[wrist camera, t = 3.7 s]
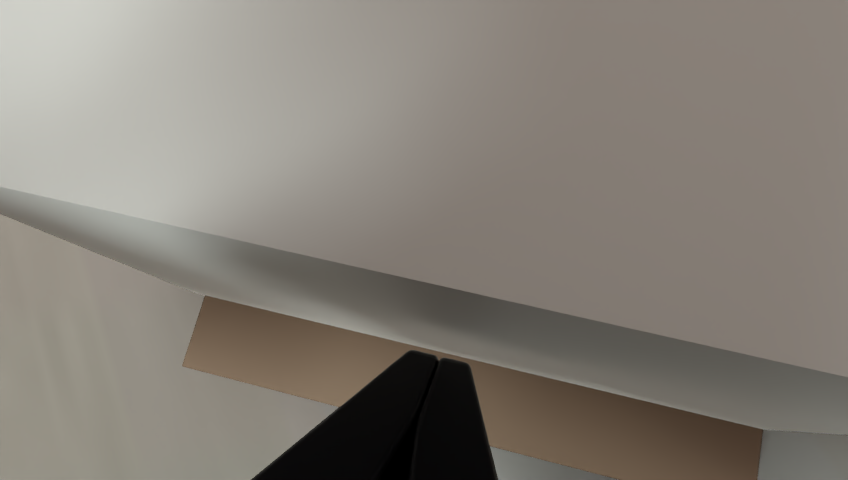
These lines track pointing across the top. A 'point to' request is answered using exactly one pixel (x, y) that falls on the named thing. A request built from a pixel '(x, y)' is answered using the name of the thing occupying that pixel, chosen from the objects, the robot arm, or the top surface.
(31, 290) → the top surface
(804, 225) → the white rectangular box
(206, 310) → the brown wooden plank
